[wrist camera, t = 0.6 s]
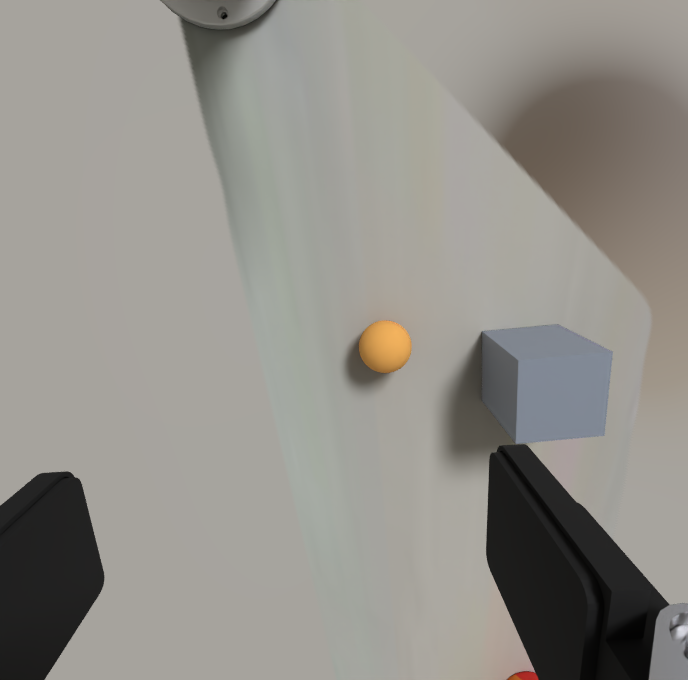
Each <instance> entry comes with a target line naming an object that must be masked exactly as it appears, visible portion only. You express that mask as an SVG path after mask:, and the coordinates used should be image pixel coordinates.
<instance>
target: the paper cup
mask: <svg viewBox="0 0 688 680" xmlns="http://www.w3.org/2000/svg"><path fill="white" fill-rule="evenodd" d="M507 680H539V679H538V677H537V675H536V673H534V672H529V671H524V672H519V673H516V674H514V675H512V676H510V677H509V678H508V679H507Z"/></svg>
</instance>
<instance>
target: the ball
mask: <svg viewBox="0 0 688 680" xmlns="http://www.w3.org/2000/svg"><path fill="white" fill-rule="evenodd" d="M411 347H412V345H411V340H410V337H409V335H408V333H407V331H406V330H405V329H404V328H403V327H402V326H401V325H399V324H397V323H395V322H392V321H378V322H375V323H373V324H371V325H370V326H369V327H367V328H366V329H365V331H364V332H363V334H362V336H361V338H360V341H359V352H360V356H361V358H362V360H363V361H364V363H365V364H366V365H367V366H368V367H369V368H371V369H372V370H374V371H377V372H381V373H390V372H394V371H396V370H398V369H400V368H401V367H403V366H404V365H405V363H406V362H407V361H408V359H409V357H410V354H411Z"/></svg>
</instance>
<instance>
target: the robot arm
mask: <svg viewBox="0 0 688 680" xmlns="http://www.w3.org/2000/svg"><path fill="white" fill-rule="evenodd" d="M161 1H162V2H163V3H164V4H165V5H166V6H167V7H168V8H169V9H170V10H171V11H172V12H174V13H175V14H177V15H178V16H180V17H181V18H183V19H184V20H186V21H188V22H190V23H193V24H195V25H198V26H200V27H204V28H210V29H216V30H218V29H232V28H236V27H240V26H244V25H246V24H248V23H250V22H252V21H254V20H255V19H257V18H259V17H260V16H261V15H262V14H263V13H265V12H266V11H267V10H268V9H269V8H270V7H271V6H272V5H273V3H274V2H275V1H276V0H161ZM223 15H227V16H228V17H227V18H226V19H224V20H223V19H222V17H223ZM486 555H487V561H488V565H489V568H490V571H491V573H492V575H493V578H494V580H495V582H496V584H497V587H498V589H499V591H500V593H501V596H502V598H503V600H504V602H505V605H506V607H507V609H508V612H509V614H510V616H511V618H512V621H513V623H514V625H515V627H516V630H517V632H518V634H519V636H520V639H521V641H522V643H523V645H524V648H525V650H526V652H527V654H528V657H529V659H530V661H531V663H532V666H533V668H534V670H535V672H536V675H537V677H538V679H539V680H688V604H687V603H680V604H673V605H669V604H668V602H667V601H666V600H665V599H664V598H663V597H662V596H661V594H660V593H659V592H658V591H657V590H656V589H655V588H654V587H653V585H652V584H651V583H650V582H649V581H648V580H647V578H646V577H645V576H643V574H642V573H641V572H640V570H639V569H638V568H637V567H636V566H635V565H634V564H633V563H632V561H631V560H630V559H629V558H628V557H627V556H626V555H625V553H624V552H623V551H622V550H621V549H620V548H619V547H618V545H617V544H616V543H615V542H614V541H613V540H612V539H611V537H610V536H609V535H608V534H607V533H606V532H605V531H604V529H603V528H602V527H601V526H600V525H599V524H598V523H597V521H596V520H595V519H594V518H593V517H592V516H591V515H590V513H589V512H588V511H587V510H586V509H585V508H584V507H583V506H582V505H581V504H579V503H576V501H575V500H574V499H573V498H572V497H571V496H570V495H569V493H568V492H567V491H566V490H565V489H564V488H563V486H562V485H561V484H560V483H559V482H558V481H557V479H556V478H555V477H554V476H553V475H552V474H551V473H550V471H549V470H548V469H547V468H546V467H545V466H544V464H543V463H542V462H541V461H540V460H539V459H538V457H537V456H536V455H535V454H534V453H533V452H532V451H531V449H530V448H529V447H528V446H527V445H525V444H521V445H504V446H499V447H498V450H497V452H496V453H491V454H490V460H489V487H488V515H487V542H486ZM103 584H104V571H103V568H102V563H101V559H100V555H99V551H98V547H97V543H96V540H95V535H94V532H93V527H92V523H91V520H90V516H89V511H88V508H87V503H86V499H85V495H84V492H83V487H82V484H81V481H80V480H79V479H78V478H75V477H74V475H73V474H72V473H70V472H52V473H41V474H39V475H37V476H36V477H34V478H33V479H32V480H31V481H30V482H28V483H27V484H26V485H25V486H24V487H22V488H21V489H20V490H19V491H18V492H16V493H15V494H14V495H13V496H12V497H10V498H9V499H8V500H7V501H6V502H4V503H3V504H2V505H1V506H0V680H44V679H45V678H46V676H47V675H48V673H49V672H50V670H51V669H52V667H53V666H54V664H55V662H56V661H57V659H58V658H59V656H60V655H61V653H62V651H63V650H64V648H65V647H66V645H67V644H68V642H69V641H70V639H71V637H72V636H73V634H74V633H75V631H76V630H77V628H78V626H79V625H80V623H81V622H82V620H83V619H84V617H85V616H86V614H87V613H88V611H89V609H90V608H91V606H92V605H93V603H94V602H95V600H96V599H97V597H98V595H99V594H100V592H101V590H102V587H103Z"/></svg>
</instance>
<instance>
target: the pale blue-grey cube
mask: <svg viewBox="0 0 688 680" xmlns="http://www.w3.org/2000/svg"><path fill="white" fill-rule="evenodd" d="M612 354H613V352H612V351H610V350H608V349H606V348H604V347H602V346H600V345H598V344H596V343H594V342H592V341H590V340H588V339H586V338H584V337H582V336H580V335H578V334H576V333H574V332H572V331H570V330H568V329H566V328H564V327H562V326H560V325H558V324H555V325H545V326H534V327H523V328H513V329H502V330H491V331H482V402H483V403H484V404H485V405H486V407H487V408H488V409H489V410H490V412H491V413H492V414H493V416H494V417H495V418H496V419H497V421H498V422H499V423H500V424H501V426H502V427H503V428H504V429H505V431H506V432H507V433H508V435H509V436H510V437H511V438H512V440H513V441H514V442H515V443H516V444H520V443H530V442H541V441H552V440H563V439H573V438H584V437H595V436H604V434H605V424H606V414H607V404H608V394H609V384H610V374H611V364H612Z"/></svg>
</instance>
